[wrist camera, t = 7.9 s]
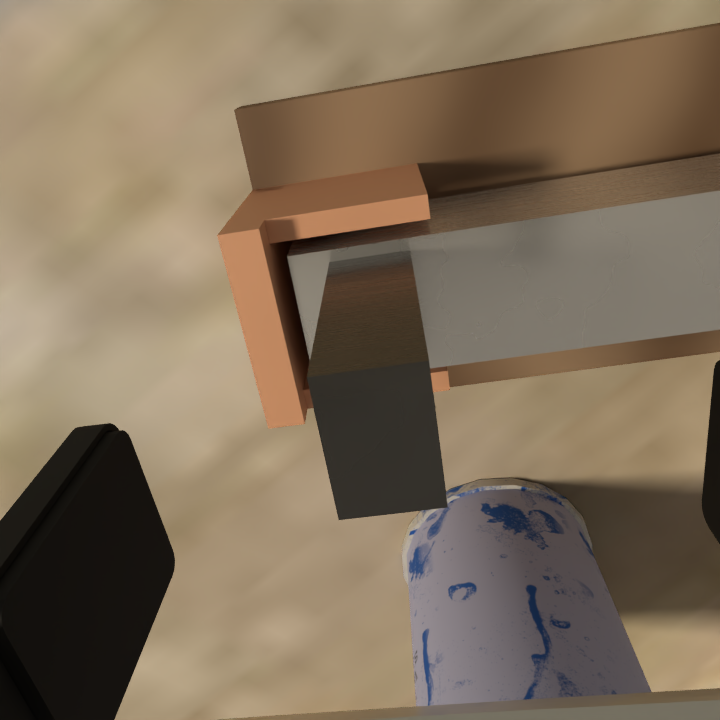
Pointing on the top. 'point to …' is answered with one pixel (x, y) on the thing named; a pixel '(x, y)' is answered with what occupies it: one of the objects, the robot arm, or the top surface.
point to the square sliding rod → (491, 305)
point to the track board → (511, 142)
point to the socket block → (273, 278)
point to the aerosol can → (511, 601)
